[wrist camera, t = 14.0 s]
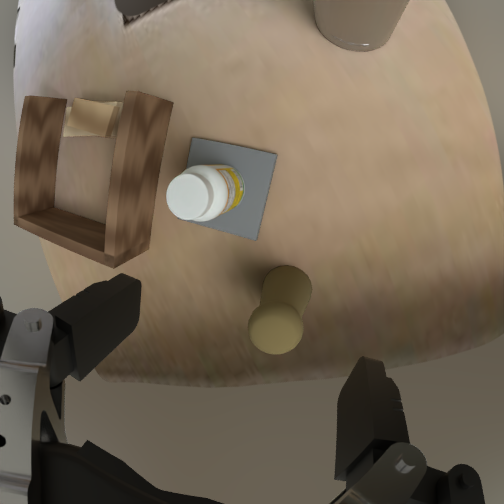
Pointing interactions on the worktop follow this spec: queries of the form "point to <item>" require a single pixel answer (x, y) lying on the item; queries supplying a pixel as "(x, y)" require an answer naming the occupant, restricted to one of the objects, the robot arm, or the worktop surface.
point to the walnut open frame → (121, 182)
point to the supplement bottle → (205, 192)
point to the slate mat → (255, 179)
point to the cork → (280, 310)
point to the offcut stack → (92, 118)
